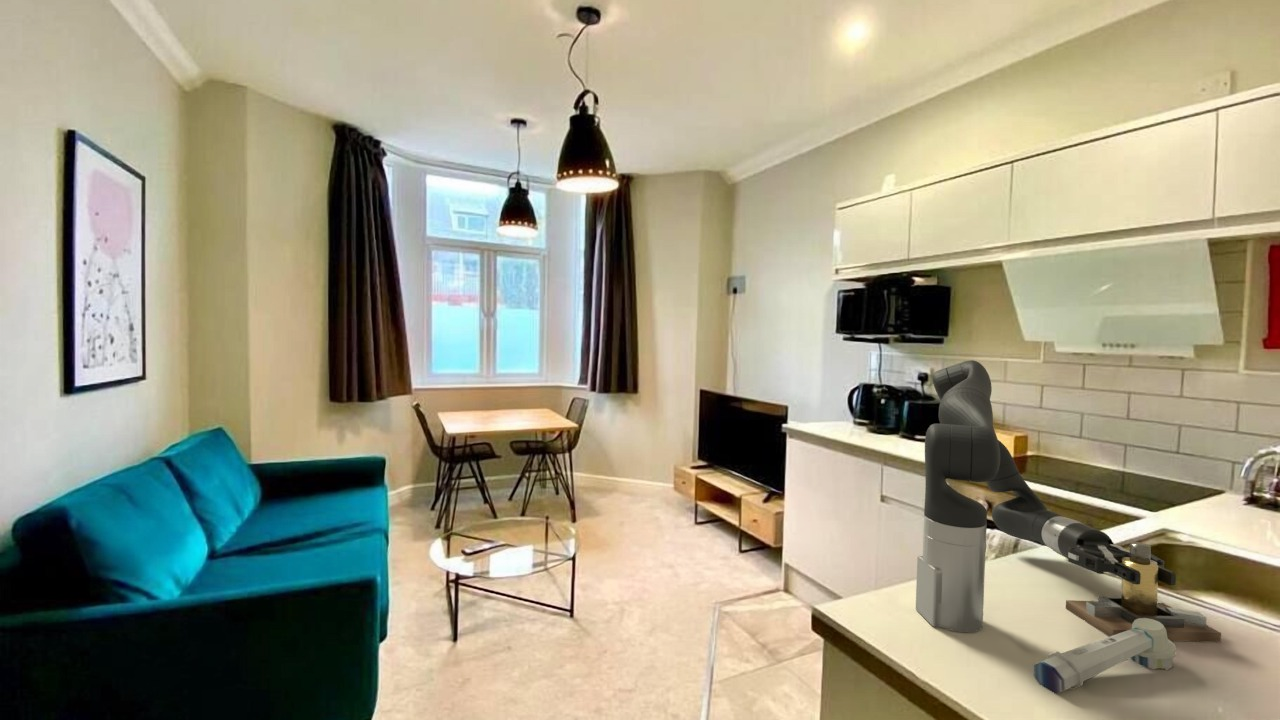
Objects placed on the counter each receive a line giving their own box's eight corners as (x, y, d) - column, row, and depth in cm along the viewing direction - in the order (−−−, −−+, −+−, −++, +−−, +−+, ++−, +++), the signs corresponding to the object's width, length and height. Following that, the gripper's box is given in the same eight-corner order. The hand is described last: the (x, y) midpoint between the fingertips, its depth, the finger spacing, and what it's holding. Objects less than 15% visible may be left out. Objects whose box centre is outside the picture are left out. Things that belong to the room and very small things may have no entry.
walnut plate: (1112, 638, 88) (1113, 629, 88) (1065, 608, 98) (1065, 600, 98) (1220, 642, 87) (1221, 632, 87) (1162, 611, 97) (1162, 602, 97)
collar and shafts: (1108, 625, 89) (1109, 614, 89) (1072, 603, 97) (1073, 593, 97) (1210, 628, 89) (1211, 617, 89) (1166, 606, 96) (1167, 596, 96)
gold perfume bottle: (1137, 621, 90) (1139, 548, 90) (1113, 608, 95) (1115, 539, 95) (1164, 621, 90) (1166, 549, 90) (1139, 609, 95) (1141, 540, 95)
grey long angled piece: (1026, 652, 77) (1141, 603, 85) (1029, 697, 77) (1142, 644, 85) (1066, 674, 72) (1183, 620, 80) (1069, 721, 72) (1185, 663, 80)
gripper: (1039, 521, 107) (1112, 555, 90) (1114, 523, 106) (1202, 557, 89) (1037, 559, 107) (1110, 600, 90) (1112, 561, 107) (1199, 603, 90)
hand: (1155, 578), depth 90 cm, fingers open, 5 cm apart
